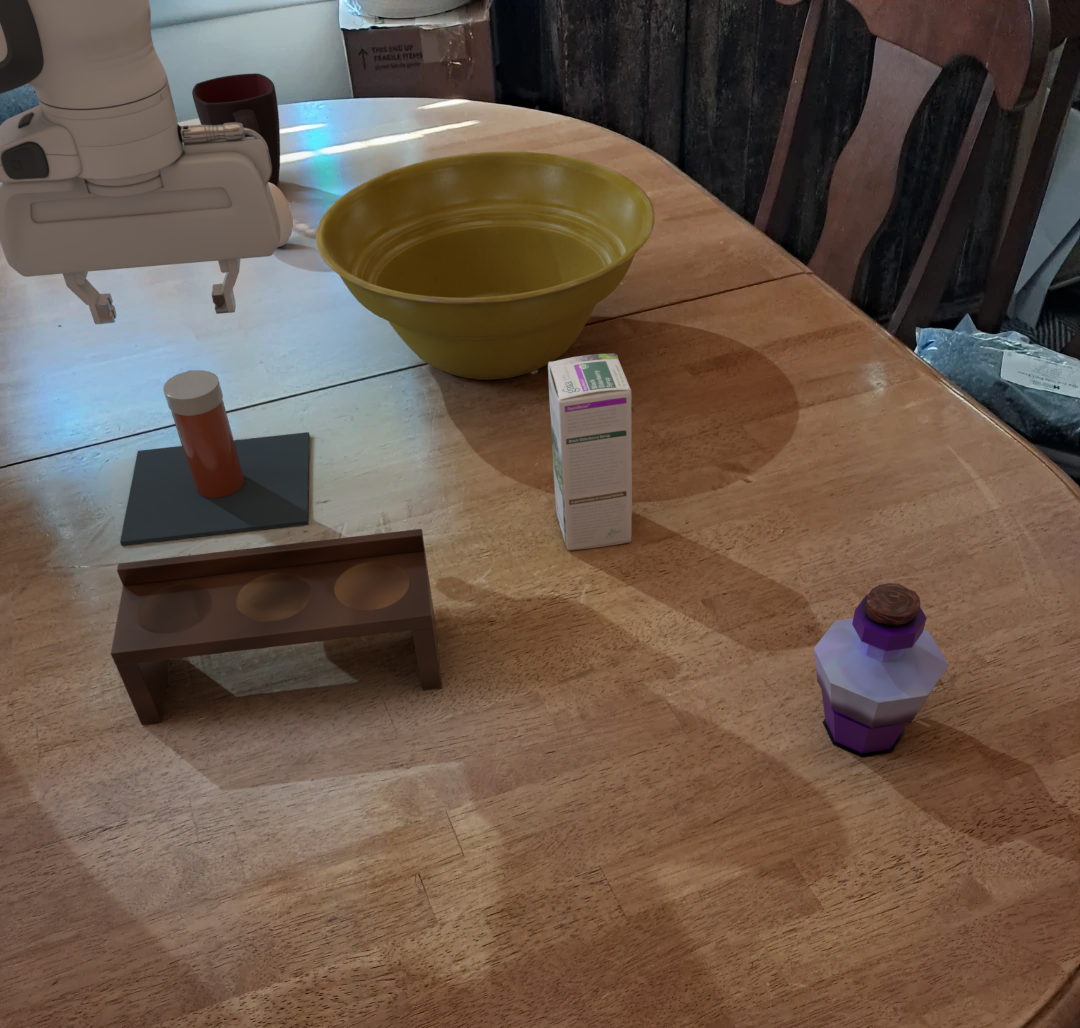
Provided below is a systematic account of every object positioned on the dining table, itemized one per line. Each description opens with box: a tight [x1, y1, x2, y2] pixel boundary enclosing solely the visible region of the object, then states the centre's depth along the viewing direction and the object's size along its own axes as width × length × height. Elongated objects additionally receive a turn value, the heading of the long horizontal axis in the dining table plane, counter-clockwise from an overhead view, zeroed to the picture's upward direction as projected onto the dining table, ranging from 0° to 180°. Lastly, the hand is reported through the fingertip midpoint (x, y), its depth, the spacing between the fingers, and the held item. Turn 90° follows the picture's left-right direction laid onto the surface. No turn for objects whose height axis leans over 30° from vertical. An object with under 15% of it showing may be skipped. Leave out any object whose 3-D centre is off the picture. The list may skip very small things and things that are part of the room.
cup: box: [191, 73, 281, 188], centre depth 144 cm, size 10×14×12 cm
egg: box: [268, 182, 294, 248], centre depth 135 cm, size 5×5×7 cm
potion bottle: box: [813, 582, 949, 758], centre depth 76 cm, size 9×9×12 cm
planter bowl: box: [315, 151, 656, 381], centre depth 114 cm, size 32×32×13 cm
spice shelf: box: [110, 528, 443, 726], centre depth 84 cm, size 22×8×9 cm, turn 98°
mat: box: [119, 431, 310, 546], centre depth 104 cm, size 16×14×1 cm
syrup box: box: [547, 352, 633, 551], centre depth 92 cm, size 6×6×14 cm
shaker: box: [162, 369, 244, 498], centre depth 100 cm, size 5×5×10 cm
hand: (166, 315), depth 92 cm, fingers open, 8 cm apart
